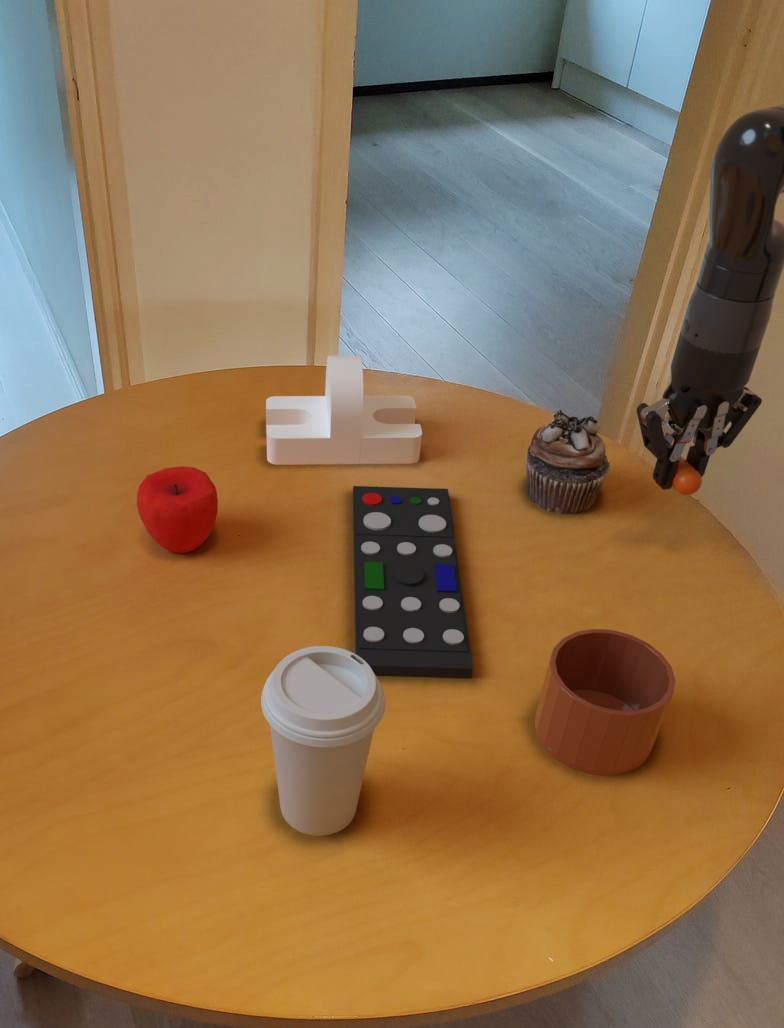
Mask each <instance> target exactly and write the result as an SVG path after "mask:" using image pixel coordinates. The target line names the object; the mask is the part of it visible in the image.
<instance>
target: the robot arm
mask: <svg viewBox="0 0 784 1028" xmlns="http://www.w3.org/2000/svg"><path fill="white" fill-rule="evenodd" d="M709 177H710V179H709V200H708V201H709V203H708V204H709V205H708V228H709V229H708V230H709V235H708V242H707V244H706V248H705V251H704V253H703V254H704V255H703V258H702V261H701V266H700V269H699V272H698V276H697V280H696V283H695V286H694V289H693V290H692V293H691V294H690V298H689V300H688V302H687V306H686V309H685V313H684V316H683V320H682V323H681V328H680V331H679V335H678V339H677V342H676V345H675V349H674V352H673V357H672V359H671V363H670V364H671V365H670V375H671V377H670V383H669V385H668V386H667V388H666V389H665V391H664V392H663V394H662V398H661V399H660V400H657V401H656V402H654V403H653V404H651V405H649V404H647V403H646V402H641V403H639V405H638V406H637V407H636V414H637V415H636V416H637V420H638V424H639V429H640V432H641V437H642V443H643V446H644V447H645V448H646V449H647V450H648V451H649V452H650V454H653V455H654V456H655V457H656V458H657V459H656V462H655V465H654V469H653V471H652V479H653V480H654V482H655V483H656V485H657V486H659V487H660V488H661V490H663V491H666V490H671V489H672V488H673V486H672V484H673V480H674V478H675V475H676V471H677V468H678V465H679V460H678V459H679V458H680V456H682V453H683V452H684V449H685V447H686V444H689V443H691V442H692V443H693V445H690V446H689V448H688V451H687V454H686V457H685V460H686V461H687V462H688V463H689V464H690V465H691V466H692V467H693V468H694V469H695V470H697V471H698V472H699V474H700V475H701V478H703V477H704V475H705V473H706V469H707V466H708V463H709V460H710V457H711V456H712V455H713V454H714V453H716V451H717V449H719V448H721V447H722V448H724V449H727V448H729V447H730V446H731V445H732V444H733V442H734V441H735V440H736V439H737V438H738V436H739V435H740V433H741V432H742V430H743V429H744V427H745V426H746V425H747V424H748V422H749V421H750V420H751V418H752V416H754V414H755V413H756V411H758V409H759V407H760V406H761V404H762V403H763V399H762V398H761V397H760V396H759V395H757V394H756V392H754V391H752V390H751V389H749V388H748V387H747V385H748V383H749V381H750V379H751V377H752V373H753V371H754V367H755V364H756V361H757V358H758V355H759V352H760V349H761V346H762V343H763V340H764V337H765V334H766V332H767V328H768V325H769V322H770V319H771V315H772V310H773V305H774V304H773V303H774V299H775V297H776V296H775V295H776V292H777V289H778V285H779V283H780V279H781V277H782V274H783V270H784V223H782V222H781V221H779V220H777V219H775V215H776V214H775V213H776V206H777V203H778V200H779V199H780V198H779V197H780V195H783V194H784V103H783V104H778V105H774V106H769V107H765V108H760V109H756V110H752V111H750V112H746V113H745V114H743V115H741V116H739V117H738V118H736V120H734V121H733V122H732V123H731V124H730V125H729V126H728V128H727V129H726V130H725V132H724V133H723V135H722V137H721V139H720V141H719V142H718V144H717V146H716V149H715V151H714V154H713V158H712V162H711V167H710V175H709ZM666 413H667V414H666ZM729 424H730V426H729V428H728V429H727V430H726V428H727V426H728V425H729ZM724 430H726V432H725V431H724ZM653 455H652V456H653ZM654 456H653V457H654ZM655 457H654V458H655Z"/></svg>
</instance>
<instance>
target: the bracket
mask: <svg viewBox="0 0 784 1028" xmlns="http://www.w3.org/2000/svg"><path fill="white" fill-rule="evenodd" d="M362 361H363V360H362V357H361V356H360V355H359V354H357V355H355V354H354V355H351V354H350V355H349V354H348V355H345V354H343V355H342V354H341V355H337V354H336V355H335V354H333V355H327V358H326V367H325V386H324V387H325V390H324V395H273V396H270V397H268V398H266V400H265V432H266V433H265V434H266V460H267V462H268V463H270V464H272V465H283V466H284V465H391V464H393V465H394V464H395V465H397V464H398V465H399V464H405V465H407V464H409V465H410V464H416V463H418V462H419V461H420V457H421V449H422V447H421V446H422V439H423V429H422V425H421V423H416V417H417V405H416V401H415V399H414V398H413V397H412V396H409V395H364V373H363V372H364V371H363V362H362Z"/></svg>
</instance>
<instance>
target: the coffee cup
mask: <svg viewBox="0 0 784 1028" xmlns="http://www.w3.org/2000/svg"><path fill="white" fill-rule="evenodd" d="M260 706H261V710H262V714H263V716H264V718H265V720H266V721H267V723H268V724H269V730H270V736H271V745H272V752H273V759H274V769H275V776H276V783H277V790H278V791H277V792H278V799H279V807H280V812H281V814H282V817H283V819H284V820H285V822H286V823H287V824H288V825H289V826H290V827H292V828H293V829H294V830H296V831H298V832H300V833H302V834H305V835H307V836H308V835H309V836H314V837H323V836H330V835H333V834H336V833H338V832H341V831H342V830H344V829H346V827H348V826H349V825H350V824H351V822H352V821H353V819H354V818H355V815H356V812H357V807H358V803H359V799H360V794H361V790H362V786H363V781H364V776H365V772H366V767H367V762H368V758H369V754H370V750H371V744H372V741H373V736H374V732H375V729H376V728H377V727H378V725H380V723H381V721H382V719H383V718H384V714H385V711H386V697H385V692H384V690H383V686H382V685H381V682H380V680H379V678H378V676H376V675H375V674H374V673H373V671H372V669H371V667H370V666H369V665H368V664H367V663H366V662H365V661H364V660H363V659H362V658H361V657H359V656H358V655H356V654H355V652H352V651H350V650H347V649H345V648H341V647H337V646H330V645H315V646H307V647H303V648H300V649H297V650H295V651H292V652H291V653H289V654H288V655H286V656H285V657H283V658H282V659H281V660H280V661H279V662H278V664H277V665H276V667H275V668H274V669H273V670H272V672H271V673H270V674H269V676H268V677H267V679H266V681H265V683H264V686H263V687H262V692H261V697H260Z"/></svg>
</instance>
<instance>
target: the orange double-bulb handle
mask: <svg viewBox="0 0 784 1028" xmlns="http://www.w3.org/2000/svg"><path fill="white" fill-rule="evenodd" d="M651 454H652V453H651ZM652 456H653V457H654V458H656V457H655V456H654V455H653V454H652ZM656 460H657V458H656ZM678 460H679V465H678V468H677V471H676V475H675V478H674V480H673V484H672V488H674V490H676V491H677V493H679V494H681V495H683V496H690V495H695V493H697V492H698V491H699V490H700V489H701V488H702V484H703V479H702V478H703V477H702V478H701V475H700V474H699V472H698V471H697V470H695V469H694V468H693V467H692V466H691V465H690V464H689V463H688V462H687V461H686V458H684V457H683V456H682V455H681V456H680V458H679V459H678Z"/></svg>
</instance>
